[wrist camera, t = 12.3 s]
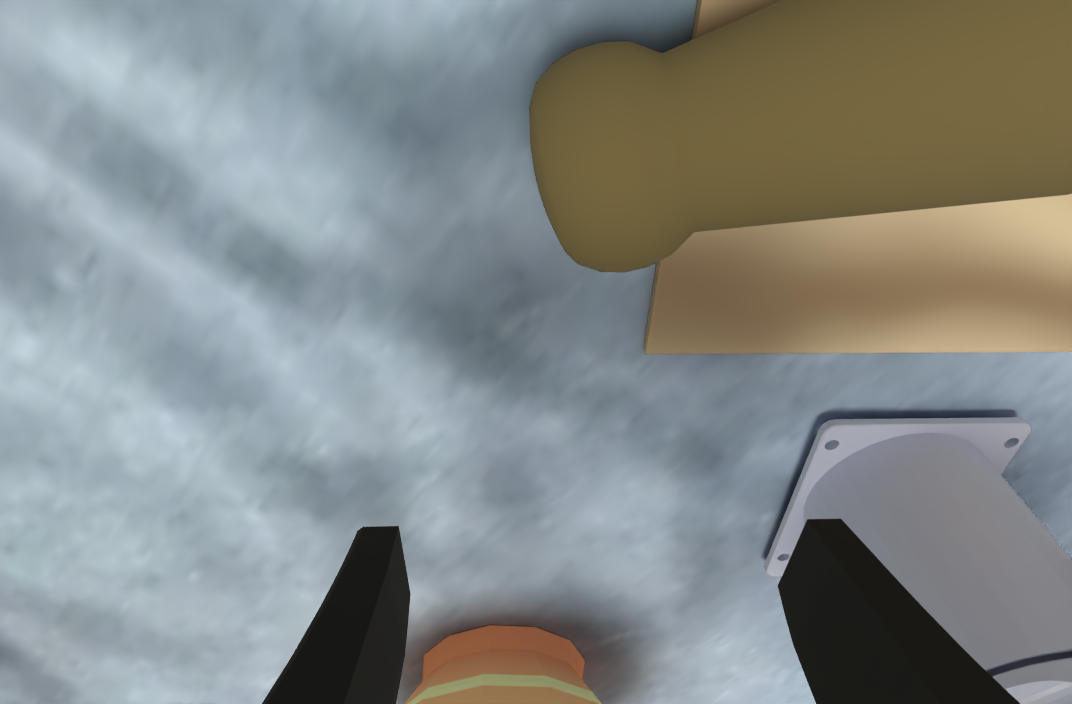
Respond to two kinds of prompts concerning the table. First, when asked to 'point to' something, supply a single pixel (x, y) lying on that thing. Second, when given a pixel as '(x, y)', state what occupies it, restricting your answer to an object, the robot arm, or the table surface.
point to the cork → (803, 121)
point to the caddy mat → (869, 276)
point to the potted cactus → (503, 669)
